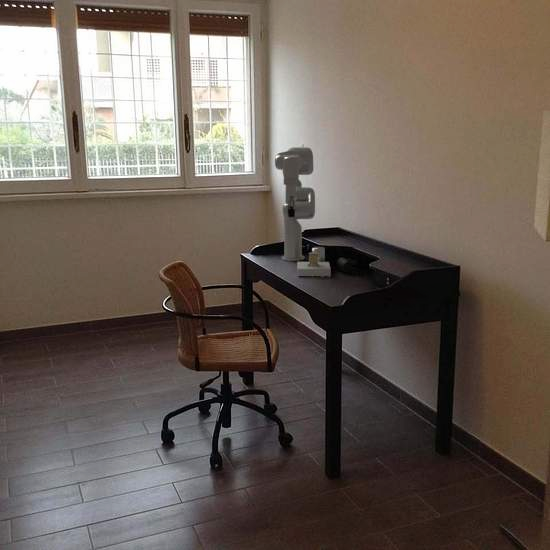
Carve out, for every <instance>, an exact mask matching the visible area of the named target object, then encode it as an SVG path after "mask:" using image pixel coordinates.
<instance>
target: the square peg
mask: <svg viewBox="0 0 550 550" xmlns="http://www.w3.org/2000/svg"><path fill="white" fill-rule="evenodd" d="M308 262H309V267H318V253H312V252H308Z"/></svg>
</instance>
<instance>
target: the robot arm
mask: <svg viewBox="0 0 550 550" xmlns="http://www.w3.org/2000/svg"><path fill="white" fill-rule="evenodd" d="M274 159H275V160H274V165H275V168H276V170H281V171H282V175H283V185H285V192H284V193H285V202H284V203H283V205H282V214H283V215H282V216H283V226H284V229H283V230H284V233H283V234H284V235H283V236H284V237H283V238H284V240H283V242H284V247H283V249H284V250H283V251H284V252H283V253H284V255H282V256H281V260H282V261H288V262H300V261H302V260H304V259H305V256H304V255H303V254H302V253H303V250H302V249H303V248H302V247H303V246H302V245H303V243H302V240H303V238H302V237H303V233H302V230H303V229H302V228H303V227H302V224H300V222H299V221H298V220H311V219H313V218H315V214H316V192H315V190H314V189H313V188H312V187H307V186H306V187H305V186H304V187H303V186H302V185H303V184H302V181H301V180H300V179H299V178H300V175H301V176H309V175H312V173H313V172H314V154H313V150H312V149H311V148H310V147H306V146H305V147H290V148H289V149H287V151H283V152H278V153H277V154H276V155H275V158H274Z"/></svg>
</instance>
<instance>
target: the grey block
mask: <svg viewBox="0 0 550 550" xmlns="http://www.w3.org/2000/svg"><path fill="white" fill-rule="evenodd" d="M325 249H326V248H325V247H324V246H313V247H312V248H311V253H318V262H326V261H325V258H326V257H325V256H326V255H325V253H326V251H325Z"/></svg>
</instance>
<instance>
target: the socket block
mask: <svg viewBox="0 0 550 550" xmlns="http://www.w3.org/2000/svg"><path fill="white" fill-rule="evenodd" d="M296 263H297V264H296V265H297V266H296V271H297V273H296V275H297V274H298V275H297V277H298V276H312V277H311V278H314V277H313V276H321V277H320V278H325V277H324V276H329V277H328V278H331V277H330V276H332V275H331V273H332V272H331V270H332V269H331V266H330V261H325V262H318V267H309V261H296Z"/></svg>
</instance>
